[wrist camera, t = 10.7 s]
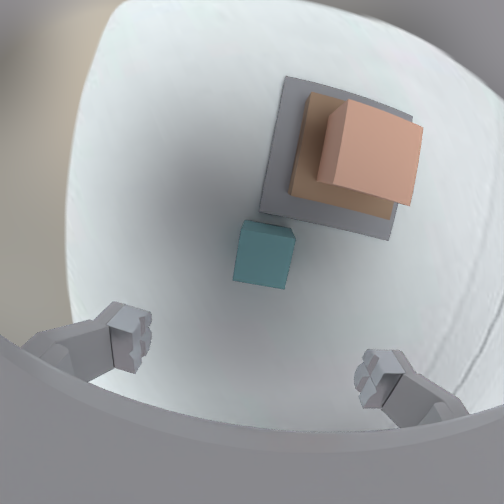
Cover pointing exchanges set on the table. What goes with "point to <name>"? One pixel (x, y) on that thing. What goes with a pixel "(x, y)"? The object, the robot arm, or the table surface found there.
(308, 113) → the base brick
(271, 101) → the table surface
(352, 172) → the terracotta cube
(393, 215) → the mat
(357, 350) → the table surface
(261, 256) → the teal cube
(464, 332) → the table surface
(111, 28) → the table surface
